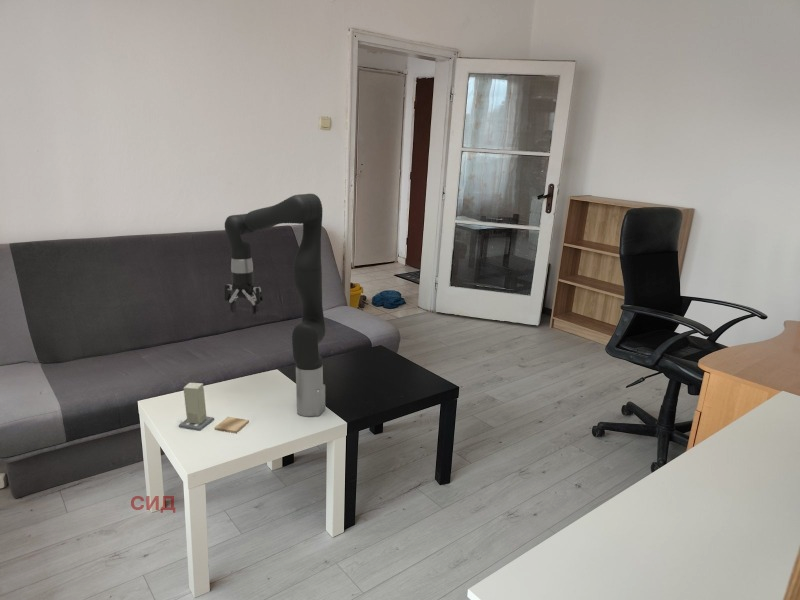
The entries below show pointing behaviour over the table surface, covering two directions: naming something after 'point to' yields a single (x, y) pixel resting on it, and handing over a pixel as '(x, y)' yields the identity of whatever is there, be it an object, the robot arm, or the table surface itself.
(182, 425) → the pad slate
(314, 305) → the robot arm
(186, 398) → the box
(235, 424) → the pad oak
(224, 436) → the table surface
